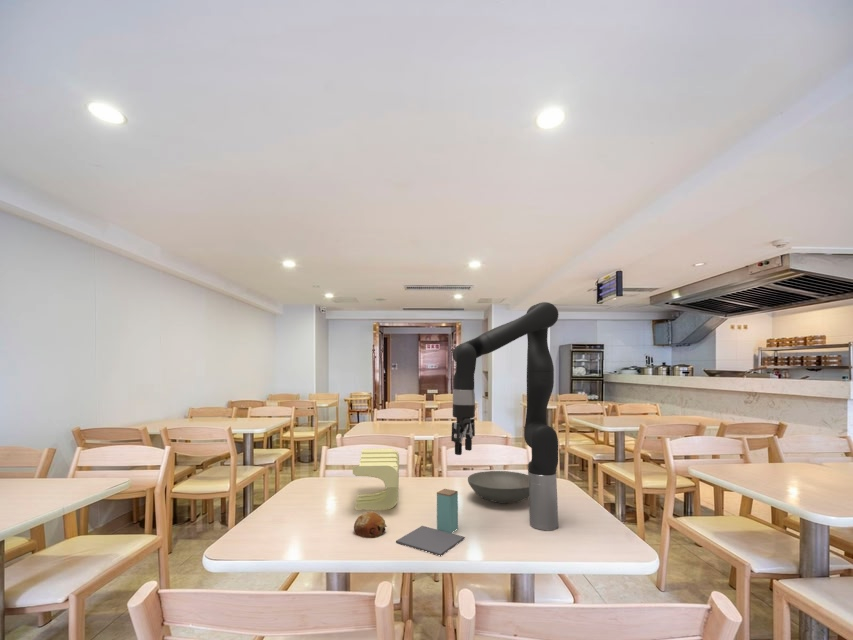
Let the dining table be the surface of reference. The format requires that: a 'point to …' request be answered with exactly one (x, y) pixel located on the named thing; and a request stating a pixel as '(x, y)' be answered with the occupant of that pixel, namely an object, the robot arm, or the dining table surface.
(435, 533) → the mat
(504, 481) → the bowl
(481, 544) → the dining table surface
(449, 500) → the teal block
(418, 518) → the dining table surface
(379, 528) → the bread roll
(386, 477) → the slatted curved stool
